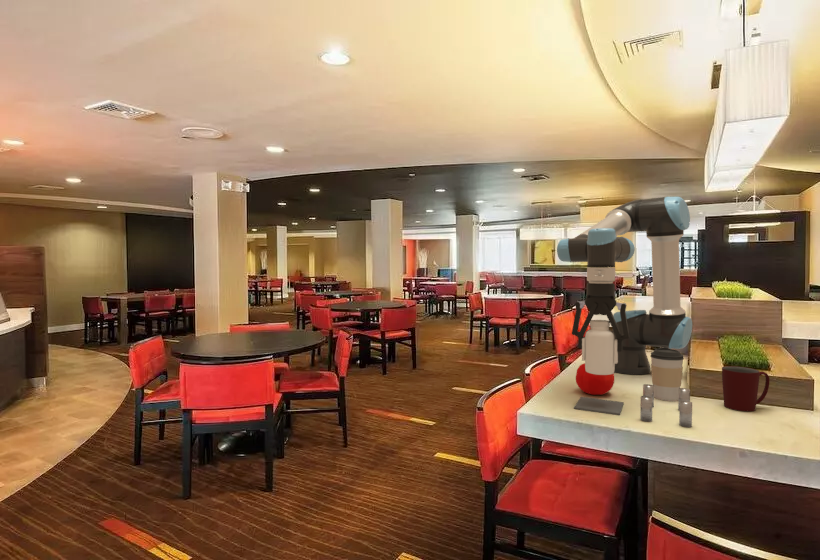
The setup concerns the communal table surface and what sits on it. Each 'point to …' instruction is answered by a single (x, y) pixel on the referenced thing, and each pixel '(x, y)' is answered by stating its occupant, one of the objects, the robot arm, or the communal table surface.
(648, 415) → the spacers
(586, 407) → the mat
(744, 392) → the mug
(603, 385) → the tomato
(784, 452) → the communal table surface
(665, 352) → the coffee cup
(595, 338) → the pill bottle
